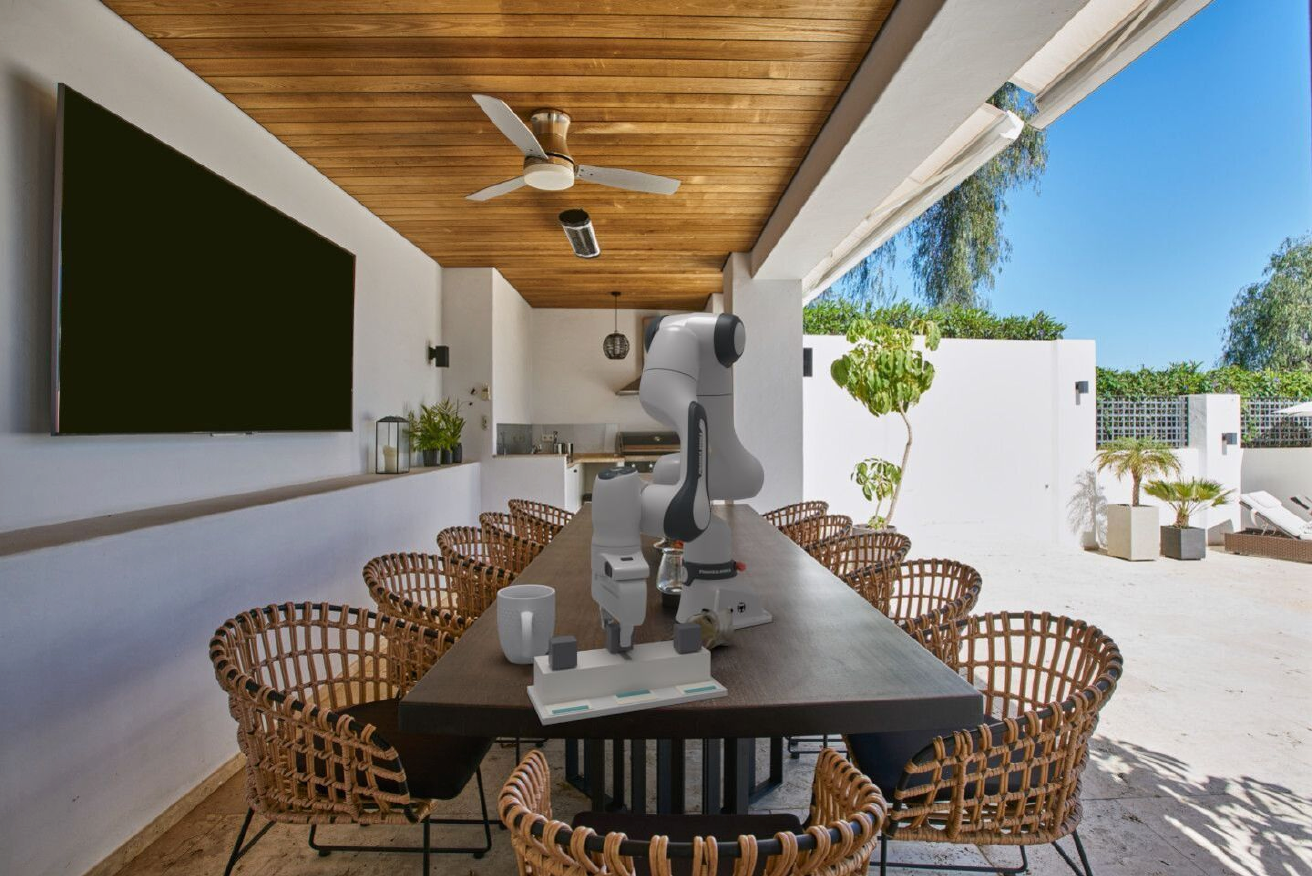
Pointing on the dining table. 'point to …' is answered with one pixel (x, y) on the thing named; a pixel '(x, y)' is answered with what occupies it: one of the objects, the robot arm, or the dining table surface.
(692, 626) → the slider
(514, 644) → the mug
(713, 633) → the ceramic sculpture
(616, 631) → the slider middle
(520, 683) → the dining table surface
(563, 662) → the slider
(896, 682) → the dining table surface
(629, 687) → the switch unit
